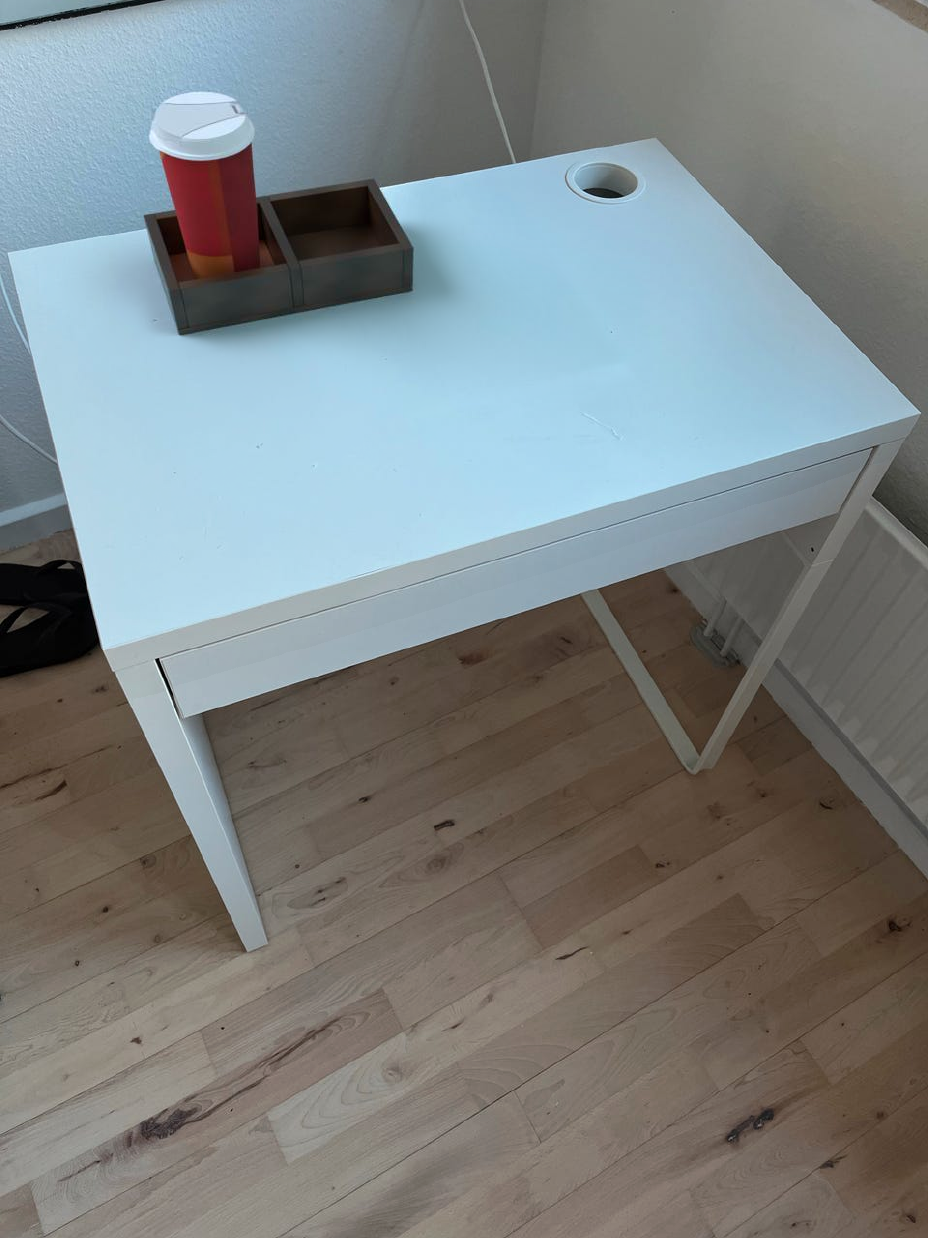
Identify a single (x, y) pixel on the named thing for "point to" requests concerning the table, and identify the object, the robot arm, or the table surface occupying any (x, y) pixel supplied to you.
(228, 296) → the cup holder
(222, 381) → the table surface
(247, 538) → the table surface
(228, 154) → the coffee cup
